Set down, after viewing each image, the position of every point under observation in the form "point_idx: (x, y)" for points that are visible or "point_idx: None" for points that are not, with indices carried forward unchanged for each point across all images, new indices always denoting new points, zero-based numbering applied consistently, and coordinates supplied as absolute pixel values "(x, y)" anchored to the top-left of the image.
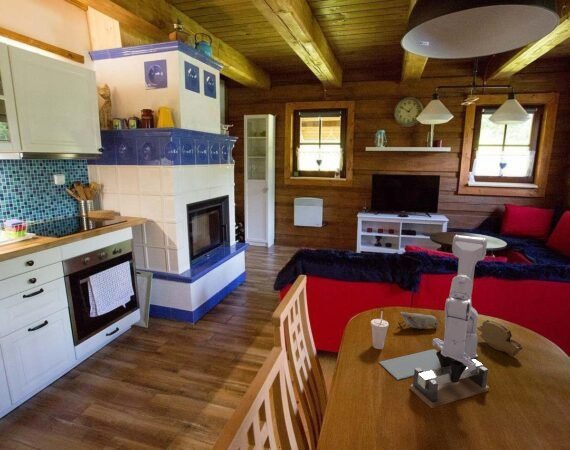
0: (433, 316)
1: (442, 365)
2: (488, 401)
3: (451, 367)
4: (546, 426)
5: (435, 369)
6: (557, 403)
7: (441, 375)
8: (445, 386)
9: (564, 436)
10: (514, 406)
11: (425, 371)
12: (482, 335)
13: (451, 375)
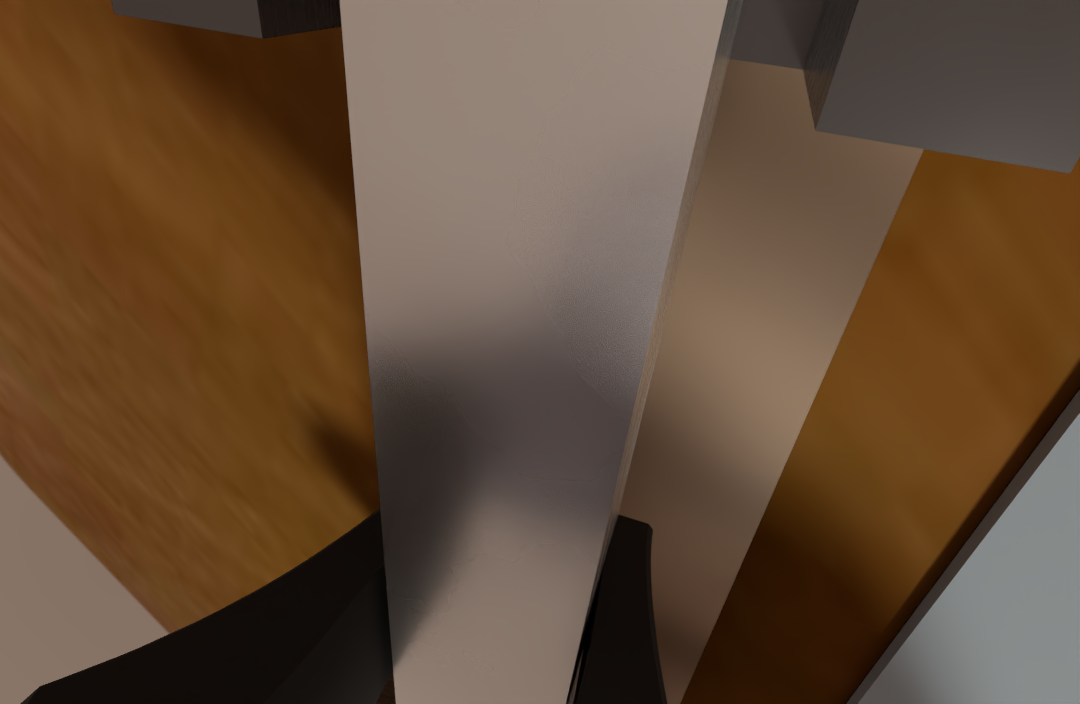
0: None
1: (597, 679)
2: (334, 499)
3: (256, 684)
4: (101, 510)
5: (605, 486)
6: None
7: (372, 383)
8: None
9: (40, 498)
10: (258, 558)
11: (1017, 512)
12: None
13: None
